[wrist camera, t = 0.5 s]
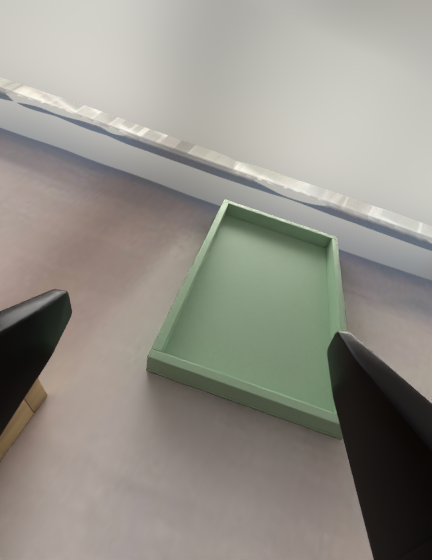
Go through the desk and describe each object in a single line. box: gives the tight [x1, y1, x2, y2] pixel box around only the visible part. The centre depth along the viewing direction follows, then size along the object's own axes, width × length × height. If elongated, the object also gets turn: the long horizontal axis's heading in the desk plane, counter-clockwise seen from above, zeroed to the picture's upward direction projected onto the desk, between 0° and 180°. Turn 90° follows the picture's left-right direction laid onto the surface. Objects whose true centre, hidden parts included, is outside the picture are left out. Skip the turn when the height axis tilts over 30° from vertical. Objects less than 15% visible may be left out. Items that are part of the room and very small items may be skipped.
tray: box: [146, 200, 347, 440], centre depth 33 cm, size 28×18×2 cm, turn 165°
